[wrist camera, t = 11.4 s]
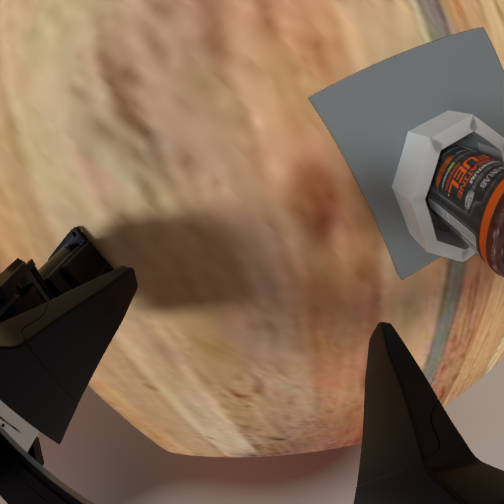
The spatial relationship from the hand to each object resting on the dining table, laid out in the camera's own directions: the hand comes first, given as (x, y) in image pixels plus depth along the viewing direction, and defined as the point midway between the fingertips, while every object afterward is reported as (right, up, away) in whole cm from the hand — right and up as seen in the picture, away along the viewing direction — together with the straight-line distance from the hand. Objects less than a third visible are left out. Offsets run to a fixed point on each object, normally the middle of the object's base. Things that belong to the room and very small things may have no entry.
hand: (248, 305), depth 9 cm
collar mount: (+16, +10, +6) cm, 20 cm away
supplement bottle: (+15, +7, +7) cm, 18 cm away
